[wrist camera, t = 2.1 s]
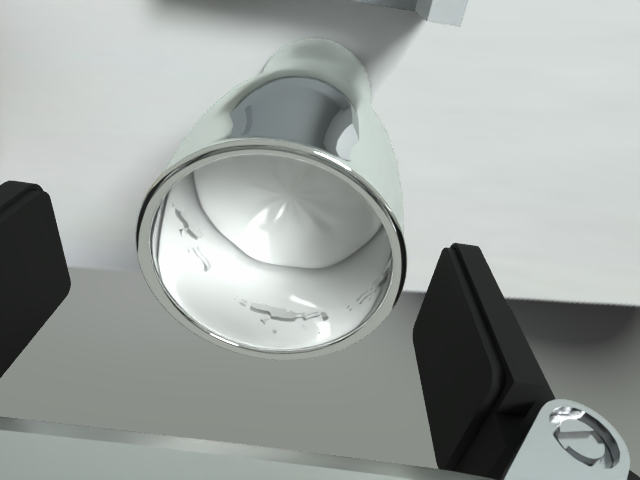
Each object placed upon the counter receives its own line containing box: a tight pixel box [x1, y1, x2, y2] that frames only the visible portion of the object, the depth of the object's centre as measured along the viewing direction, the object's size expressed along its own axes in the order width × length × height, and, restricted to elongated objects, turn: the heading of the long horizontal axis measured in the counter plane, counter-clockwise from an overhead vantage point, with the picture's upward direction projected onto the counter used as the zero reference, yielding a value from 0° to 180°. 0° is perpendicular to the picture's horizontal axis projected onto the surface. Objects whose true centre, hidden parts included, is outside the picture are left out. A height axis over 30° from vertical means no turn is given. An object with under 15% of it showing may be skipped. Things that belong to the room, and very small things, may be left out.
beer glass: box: [135, 38, 407, 360], centre depth 16 cm, size 7×7×15 cm
